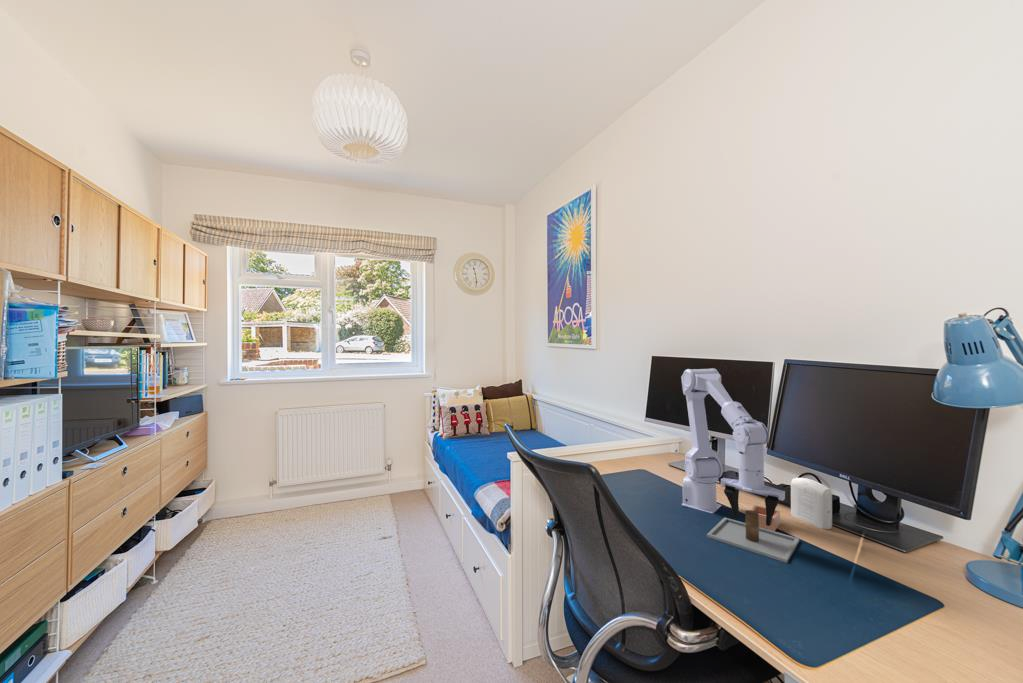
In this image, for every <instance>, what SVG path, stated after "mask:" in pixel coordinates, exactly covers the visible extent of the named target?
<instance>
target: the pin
mask: <svg viewBox="0 0 1023 683" xmlns="http://www.w3.org/2000/svg"><path fill="white" fill-rule="evenodd" d="M744 513H745V515H744V516H745V517H744V518H745V522H744V523H746V539H747V540H749V541H753V542H758V541H759V513H758V512H756V511H752V510H751V509H747V510H745V512H744Z"/></svg>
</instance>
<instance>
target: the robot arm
mask: <svg viewBox="0 0 1023 683" xmlns="http://www.w3.org/2000/svg"><path fill="white" fill-rule="evenodd" d="M680 379H681V386H682V387H681V388H682V393H683V396H685V399H686V406H687V413H688V415H687V416H688V422H689V429H690V438H691V449H689V450H688V451H687V452H686V453H685V454H684V460H685V461H684V471H685V473H686V476H684V478H683V481H682V486H681V487H682V488H681V489H682V503H681V506H682V507H685V508H692V509H695V510H699V511H702V512H706V513H709V514H714V513H715V512H717V511H718V510H719V509H720V508H721V507H722V504H719V503H717V482H719V478H721V476H722V475H723V465H722V463H721V460H720V457H719V454H718V453H717V452H716V451H715V450H714V449H712V448H711V444H710V435H709V428H708V420H707V413H706V412H707V411H706V406H705V398H706V396H707V395H710V396H711V397H712V398H713V399H714V401H716V403H717V404H718V405H719V406H720V407H721V411H720V414H721V416H723V418H724V420H725V421H726V422H727V423H728V425H729V426H730V428H731V429H732V430H733V431H732V437H733V439H734V442H735V448H736V450H737V452H738V479H732V478H726V477H723V478H721V479H720V487H721V488H724V489H723V493H724V495H725V497H726V498H727V500H728V502H729V505H730V508H731V511H732V515H733V517H738V516H739V513H740V512H739V510H740V508H739V497H740V496H739V493H740V491H743V492H748V493H752V494H756V495H760V496H763V497H766V498H765V499H764V503H765V508H766V525H767V526H770V525H771V522H772V517H773V514H774V511H775V510H776V509H777V506H778V505H779V503H780V501H782V502H783V501H784V500H785V499H786V491H785V490H781V489H778V488H775V487H771V486H769V485H766V484H765V463H764V462H765V459H764V456H765V454H764V445H765V444H767V443H768V442H769V438H770V434H769V433H770V432H769V430H768V428H767V426H766V425H765V423H763V422H762V421H761V422H760V421H757V419H753V417H752V416H751V414H749V412H748V411H747V410H746V409H745V408H744V406H743V405H742V403H741V402H738V401H734V400H733V399H732V397H731V396H730V394H729V392H727V390H726V389H725V388H726V387H725V386H724V385H723V384H722V375H721V374H720V373H719V371H718V370H717V369H716V368H715V367H714V368H713V367H712V368H711V367H710V368H699V369H698V368H697V369H696V368H693V369H691V368H687V369H685V370H684V371H683V373H682V375H681V376H680Z"/></svg>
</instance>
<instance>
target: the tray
mask: <svg viewBox="0 0 1023 683" xmlns="http://www.w3.org/2000/svg"><path fill="white" fill-rule="evenodd" d="M706 538H709V539H711V540H715V541H717V542H721V543H725V544H727V545H730V546H734V547H736V548H738V549H739V548H740V549H743V550H746V551H748V552H751V553H755V554H758V555H760V556H764V557H765V558H766V557H767V558H770V559H773V560H775V561H779V562H782V563H785V564H787V563H788V562H789V560H790V559H791V557H792V555H793V553H794V551H795V550H796V548H797V546H798V545H799V543H800V538H798V537H795V536H791V535H788V534H784V533H782V532H777V531H776V530H775V531H772V530H768V529H765V528H761V527H759V541H758V542H753V541H749V540H747V539H746V523H745V522H743V521H739V520H736V519H731V518H728V517H723V518H722V519H721V520H720V521H719V522H718V523H717V524H716V525H714V527H713V528H712V529H710V531H709V532H708V533H706Z"/></svg>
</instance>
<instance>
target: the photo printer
mask: <svg viewBox="0 0 1023 683" xmlns="http://www.w3.org/2000/svg"><path fill="white" fill-rule="evenodd" d="M790 516H792V517H793V518H795V519H798V520H800V521H802V522H805V523H806V524H809V525H812V526H813V527H816V528H819V529H822V530H830V529H832V528H833V492H832V491H831V489H830V488H828V487H827V486H826V485H824V484H822V483H820V482H818V481H815V480H813V479H810V478H806V477H794V478H792V480H791V482H790Z"/></svg>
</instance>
